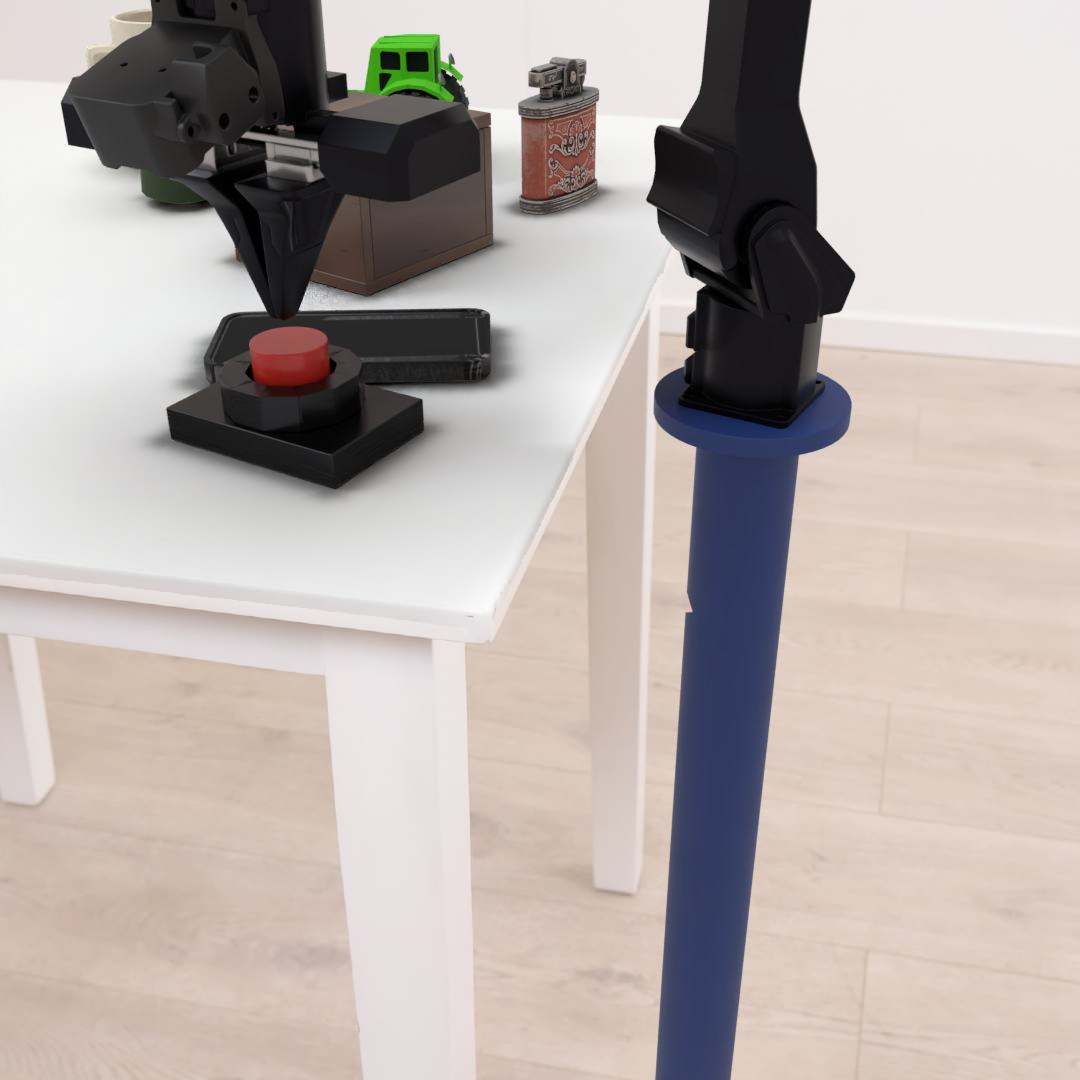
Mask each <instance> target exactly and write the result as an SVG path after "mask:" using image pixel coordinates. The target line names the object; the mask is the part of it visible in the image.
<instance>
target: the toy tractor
mask: <svg viewBox="0 0 1080 1080" xmlns="http://www.w3.org/2000/svg"><path fill="white" fill-rule="evenodd" d="M441 56H442V55H441V35H440V34H438V33H437V34H436V33H404V34H395V35H383V36H380V37H378V38H377V39H376V41H375V42H374V43H373V44H372V45H371V47H370V51H369V58H368V63H367V70H366V77H365V82H364V89H348V92H352V91H359V92H365V93H371V94H377V95H383V96H392V95H395V94H398V95H406V96H413V97H421V98H428V99H436V100H443V101H451V102H458V103H463V104H464V106H465V107H466V109H469V106H470V100H469V96H467V95H466V93H465V92H466V89H465V88H464V86H463V85H462V84H460V83H461V82H462V81H463V79H464V75H463V74H462V73H461V72H460V71H458V69H456V68H455V67H454V66H455V65H456V61H455V57H454V55H453V53H451V52H449V54H448V56H447V58H448V63H447V62H445V61H443V60H441V59H442V57H441ZM447 72H449V73H450V74H449V73H447Z"/></svg>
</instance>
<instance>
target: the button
mask: <svg viewBox="0 0 1080 1080" xmlns="http://www.w3.org/2000/svg"><path fill="white" fill-rule="evenodd" d="M249 347H250V355H251V364H252V372H253V378H254V381H255V382H258V383H262V384H266V385H269V386H299V385H304V384H308V383H313V382H318V381H320V380H321V379H323V378H325V377H327V376H329V375H330V373H331V370H330V359H329V348H328V338H327V336H326V335H325V334H324V333H323V332H321V331H319V330H317V329H313V328H307V327H281V328H275V329H271V330H267V331H264V332H262V333H259V334H257V335H256V336H254V337H253V338H252V339H251V340H250V343H249Z"/></svg>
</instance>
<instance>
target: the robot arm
mask: <svg viewBox="0 0 1080 1080" xmlns="http://www.w3.org/2000/svg"><path fill="white" fill-rule="evenodd" d="M708 1H709V2H708V9H707V21H706V31H705V42H704V51H703V62H702V72H701V82H700V87H699V91H698V95H697V97H696V99H695V101H694V102H693V104H692V105H691V108H690V109H689V110H688V113H687V114H686V116H685V118H684V120H683V121H682V123H681V125H680V126H679V127H678V126H671V125H666V124H665V125H664V124H658V126H656V128H655V133H654V137H653V149H654V175H653V179H652V184H651V187H650V189H649V191H648V193H647V196H646V198H645V201H646V203H648V204H650V205H651V206H653V207H655V208H656V218H657V219H656V220H657V226H658V228H659V231H660V233H661V235H662V236H664V238H665V240H666V241H667V242H669V244H670V245H671V246H672V248H673V249H674V250H676V251H678V252H679V255H680V260H681V262H682V266H683V269H684V272H685V274H686V276H688V277H689V278H691V279H696V280H698V281H699V282H700V283H702V284H704V286H702V287H701V288H699V289H698V290H697V291H696V298H695V299H696V300H695V310H694V311H692V312H691V313H689V314H688V315H687V316H686V327H685V328H686V329H685V330H686V331H685V344H684V346H685V348H687V349H691V350H692V351H693V352H692V354H691V355H689V356H688V357H687V358H685V359H684V364H683V365H684V366H683V367H684V381H685V383H686V384H689V385H690V386H689V387H688V388H687V389H686V390H684V391H683V392H682V393H681V394H680V395H679V396H678V404H679V405H680V406H683V407H687V408H691V409H695V410H700V411H704V412H708V413H713V414H717V415H721V416H725V417H730V418H734V419H738V420H743V421H747V422H751V423H756V424H760V425H764V426H768V427H773V428H777V429H785V428H788V427H789V426H790V425H791V424H792V423H793V422H794V421H795V420H796V419H797V418H798V417H799V416H800V415H801V414H802V413H803V412H804V411H805V410H806V409H807V408H808V407H809V406H810V405H811V404H812V403H813V402H814V401H815V400H816V399H817V398H818V397H819V396H820V395H821V394H822V393H823V392H824V390H825V385H826V382H825V381H823V380H821V379H816V377H817V372H818V366H819V357H820V350H821V340H822V332H823V322H824V316H830V315H834V314H839V313H841V312H842V311H843V310H844V306H845V304H846V302H847V299H848V297H849V295H850V292H851V290H852V287H853V285H854V283H855V280H856V272H855V271H854V270H853V269H852V267H850V265H849V264H848V263H847V262H846V261H845V260H844V259H843V258H842V256H841V255H840V254H839V253H838V252H837V251H836V249H834V247H833V246H832V245H831V244H830V243H829V241H827V239H826V238H825V237H824V236H823V235H822V234H821V233H820V231H819V230H818V165H817V164H818V163H817V161H816V157H815V153H814V150H813V147H812V143H811V140H810V138H809V137H810V136H809V134H808V131H807V127H806V123H805V121H804V120H805V119H804V116H803V113H802V110H801V105H800V103H801V102H800V99H801V97H800V94H801V92H800V91H801V86H802V85H801V84H802V78H803V72H804V71H803V70H804V62H805V55H806V48H807V39H808V32H809V24H810V16H811V9H812V2H813V0H708ZM149 2H150V7H151V8H152V23H151V27H149V28H148V29H146V30H145V31H143V32H142V33H141V34H139V35H136V36H133V37H131V38H129V39H127V40H126V41H124V42H123V43H121V44H120V45H119V46H117V47H116V48H115V49H114V50H112V51H111V52H110V53H109V54H107V55H106V56H105V57H103V58H102V59H101V60H100V61H98V62H97V63H96V64H95V65H93V66H92V67H91V68H89V69H88V68H87V69H86V71H84V72H83V73H82V74H80V75H77V76H73V77H72V78H71V80H70V82H69V84H68V87H67V89H66V90H65V92H64V94H63V97H62V99H61V101H60V107H61V113H62V118H63V123H64V125H63V126H64V129H65V136H66V141H67V145H68V146H70V147H77V148H82V149H88V150H94V151H95V153H96V155H97V157H98V159H99V162H100V163H101V165H102V166H104V167H105V168H107V169H112V170H118V169H120V168H121V167H123V168H129V169H135V170H139V171H140V170H145V171H149V172H150V173H151V174H153V175H154V176H156V177H160V178H169V179H171V180H173V181H177V182H180V183H182V184H184V185H186V186H187V187H188V188H190V189H191V190H193V191H194V192H196V193H197V194H198V195H200V196H201V197H203V198H204V199H206V200H205V201H207V202H208V203H209V205H211V206H212V207H213V209H214V211H215V212H216V214H217V215H218V217H219V219H220V220H221V222H222V224H223V226H224V227H225V229H226V231H227V233H228V235H229V236H230V238H231V241H232V242H233V244H234V248H235V247H236V248H235V249H238V250H237V251H238V253H239V255H240V257H241V259H242V261H243V262H242V261H241V262H242V263H243V266H244V268H245V269H246V271H247V273H248V275H249V277H250V279H251V281H252V284H253V286H254V288H255V290H256V292H257V294H258V296H259V298H260V300H261V302H262V304H263V306H264V309H265V311H267V313H268V315H269V316H270V317H271V318H275V319H279V320H283V321H285V320H287V319H289V318H292V317H294V316H295V315H296V314H297V313H298V311H300V308H301V305H302V304H303V303H302V302H303V300H304V297H305V294H306V292H307V289H308V287H309V284H310V281H311V280H310V278H311V276H312V273H313V270H314V267H315V265H316V262H317V259H318V257H319V254H320V251H321V248H322V246H323V242H324V241H325V238H326V235H327V233H328V230H329V228H330V226H331V223H332V221H333V219H334V217H335V215H336V213H337V211H338V209H339V207H340V205H341V203H342V201H343V199H344V197H345V195H352V196H357V197H363V198H368V199H374V200H380V201H385V202H400V201H410V200H413V199H415V198H418V197H420V196H422V195H425V194H427V193H429V192H432V191H434V190H437V189H439V188H441V187H444V186H446V185H448V184H451V183H453V182H456V181H458V180H460V179H463V178H465V177H467V176H470V175H472V174H475V173H477V172H479V171H481V165H480V131H479V129H478V126H477V124H476V122H475V120H474V119H473V117H472V116H471V114H470V113H469V111H468V110H467V109H466V107H465V106H464V104H463V103H458V102H451V101H443V100H436V99H428V98H421V97H413V96H406V95H398V94H395V95H392V96H388V97H385V98H382V99H379V100H376V101H372V102H369V103H366V104H363V105H360V106H356V107H353V108H350V109H347V110H344V111H340V112H338V111H331V110H329V103H332V102H335V101H338V100H342V99H345V98H348V90H349V88H348V78H347V77H348V76H347V73H346V72H338V71H332V70H331V71H330V70H328V66H327V56H326V55H327V54H326V43H325V42H326V41H325V30H324V29H325V28H324V17H323V3H322V0H150V1H149ZM278 125H286V126H293V127H294V131H293V130H286V129H280V128H278Z"/></svg>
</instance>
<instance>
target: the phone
mask: <svg viewBox="0 0 1080 1080" xmlns="http://www.w3.org/2000/svg"><path fill="white" fill-rule="evenodd" d="M281 327H307V328H313V329H317V330H319V331H321V332H323V333H324V334H325V335H326V336H327V338H328V344H330V345H334V346H338V347H342V348H347V349H349V350H351V351H352V352H353V353H354V354H355V355H356V356H357V357H359V358H360V359H361V360H362V361H363V372H364V384H373V383H379V384H380V383H425V382H427V383H430V382H432V383H433V382H434V383H435V382H436V383H437V382H474V381H478V380H483V379H486V378H487V377H489V376H490V375H491V373H492V343H491V342H492V338H491V337H492V336H491V314H490V312H489V311H487V310H485V309H482V308H477V307H457V308H456V307H450V308H449V307H448V308H447V307H445V308H444V307H443V308H392V309H391V308H389V309H387V308H386V309H383V308H382V309H327V310H326V309H325V310H322V309H321V310H299V311H298V313H297V314H296V315H295V316H294V317H292V318H289V319H287V320H285V321H283V320H279V319H275V318H271V317H270V316H269V315H268V313H267V311H266V310H263V311H261V310H260V311H259V310H254V311H253V310H251V311H237V312H232V313H229V314H226V315H224V316H223V317H222V318H221V319H220V322H219V324H218V325H217V328H216V330H215V332H214V334H213V337H212V339H211V341H210V343H209V345H208V347H207V349H206V351H205V353H204V356H203V365H204V373H205V380H206V381H207V382H208V383H210V384H211V385H212V384H214V383H216V382H218V381H219V374H220V372H221V370H222V368H223V367H224V365H225V363H226V361H228V360H230V359H232V358H234V357H236V356H238V355H240V354H242V353H244V352H246V351H248V350H250V347H249V343H250V340H251V339H252V338H253V337H254V336H256V335H257V334H259V333H262V332H264V331H267V330H271V329H275V328H281Z"/></svg>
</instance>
